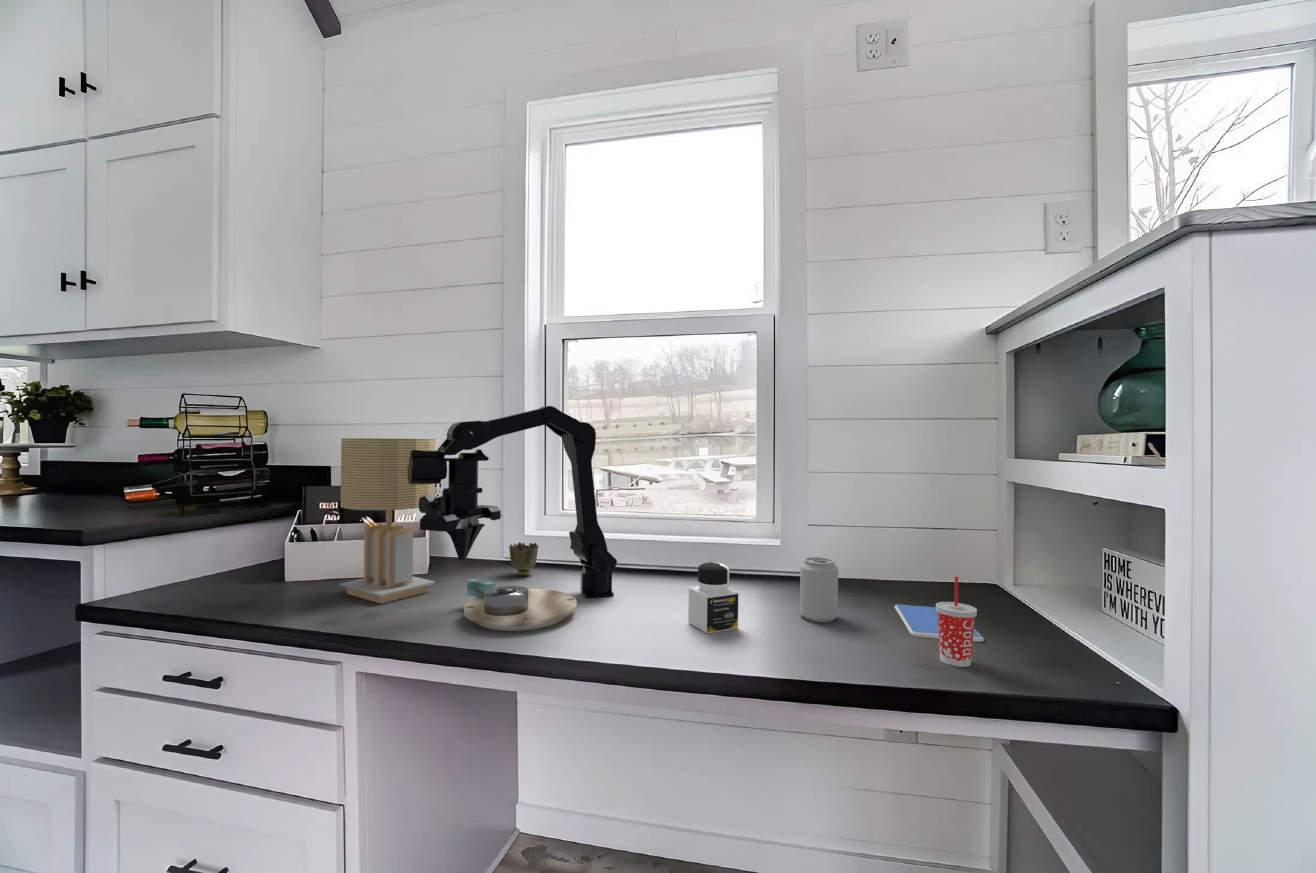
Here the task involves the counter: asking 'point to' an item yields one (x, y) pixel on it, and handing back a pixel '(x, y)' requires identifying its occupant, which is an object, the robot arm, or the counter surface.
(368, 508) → the desk lamp
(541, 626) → the turntable base
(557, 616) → the turntable
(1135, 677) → the counter surface
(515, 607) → the iron cover
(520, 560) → the cup
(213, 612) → the counter surface
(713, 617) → the medicine bottle
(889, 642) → the counter surface
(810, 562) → the can
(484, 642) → the counter surface
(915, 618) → the tablet computer
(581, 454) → the robot arm
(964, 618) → the beverage cup
